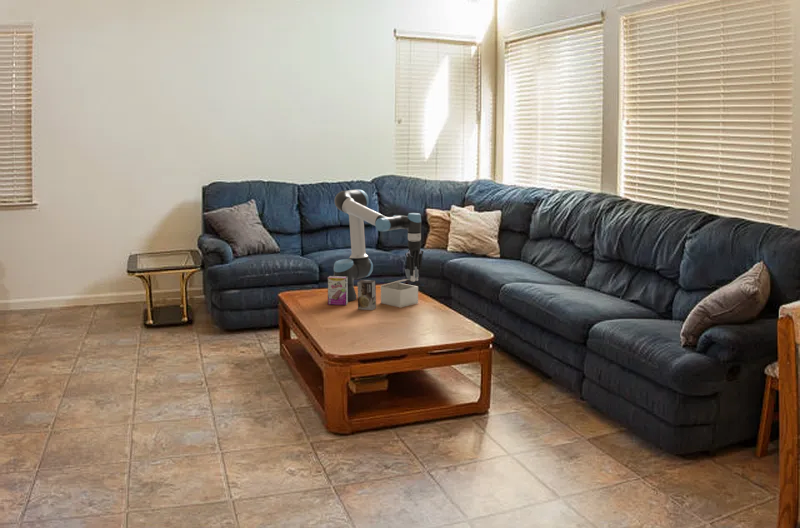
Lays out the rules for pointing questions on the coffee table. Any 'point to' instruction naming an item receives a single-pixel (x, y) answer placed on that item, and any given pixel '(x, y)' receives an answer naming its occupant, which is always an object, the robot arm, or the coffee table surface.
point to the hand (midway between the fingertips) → (414, 280)
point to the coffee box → (366, 294)
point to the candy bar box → (337, 290)
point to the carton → (399, 294)
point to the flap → (406, 276)
